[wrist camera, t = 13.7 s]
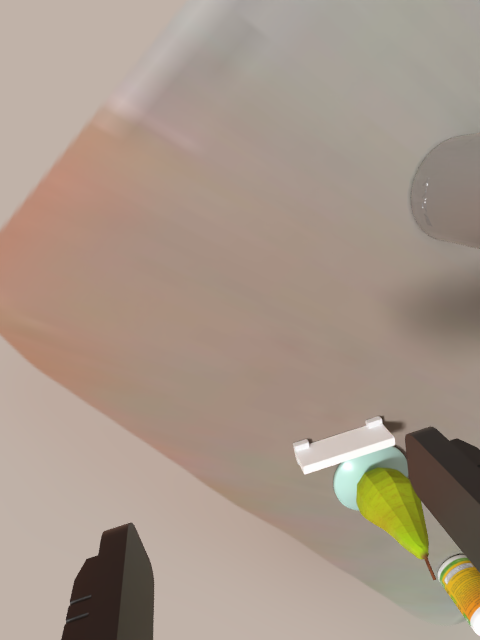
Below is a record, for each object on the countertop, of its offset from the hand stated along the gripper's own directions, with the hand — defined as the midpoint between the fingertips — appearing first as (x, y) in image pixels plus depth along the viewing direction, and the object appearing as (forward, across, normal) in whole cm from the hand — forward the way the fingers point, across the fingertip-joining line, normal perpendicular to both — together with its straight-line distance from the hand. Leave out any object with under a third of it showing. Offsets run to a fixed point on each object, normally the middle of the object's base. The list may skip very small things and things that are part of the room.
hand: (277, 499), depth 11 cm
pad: (+26, -13, +28) cm, 40 cm away
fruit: (+26, -13, +27) cm, 40 cm away
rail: (+26, -10, +21) cm, 35 cm away
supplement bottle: (+26, -23, +48) cm, 59 cm away
